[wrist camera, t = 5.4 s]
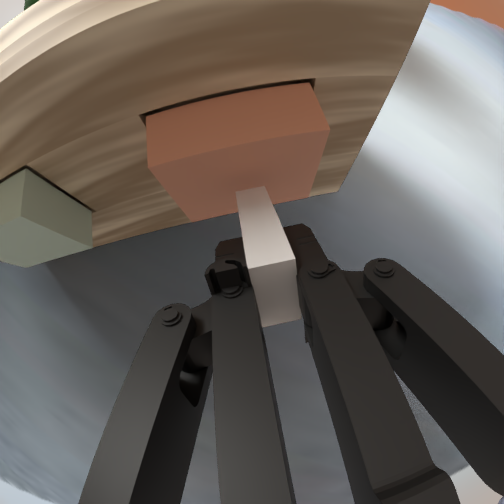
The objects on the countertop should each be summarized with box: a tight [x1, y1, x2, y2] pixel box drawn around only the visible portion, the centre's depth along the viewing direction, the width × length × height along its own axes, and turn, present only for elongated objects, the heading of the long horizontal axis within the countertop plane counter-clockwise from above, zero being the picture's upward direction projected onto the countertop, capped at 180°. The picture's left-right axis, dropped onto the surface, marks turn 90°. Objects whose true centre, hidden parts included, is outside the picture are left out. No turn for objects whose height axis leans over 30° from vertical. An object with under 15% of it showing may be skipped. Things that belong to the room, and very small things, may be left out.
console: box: [0, 0, 430, 247], centre depth 18 cm, size 10×34×22 cm, turn 102°
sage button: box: [0, 169, 93, 268], centre depth 16 cm, size 3×8×8 cm, turn 102°
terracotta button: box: [146, 83, 330, 222], centre depth 16 cm, size 3×8×8 cm, turn 102°
